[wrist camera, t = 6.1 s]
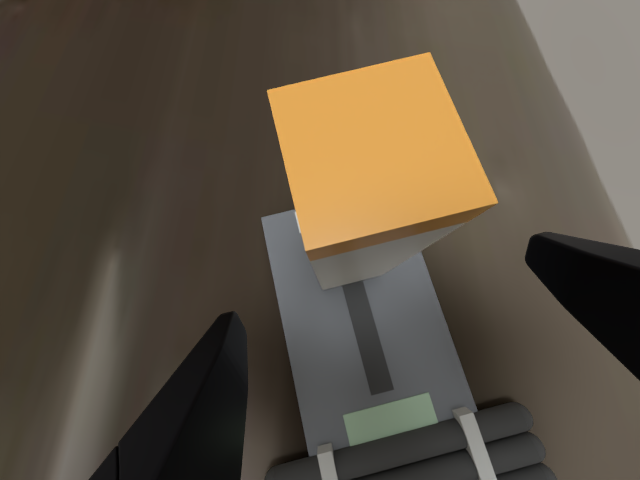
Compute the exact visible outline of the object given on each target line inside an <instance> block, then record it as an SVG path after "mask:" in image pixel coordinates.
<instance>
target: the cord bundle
mask: <svg viewBox="0 0 640 480" xmlns="http://www.w3.org/2000/svg"><path fill="white" fill-rule="evenodd" d="M452 412H453V415H454V418H452V419H449V420H445V421H441V422H438V423H436V424H432V425H428V426H425V427H421V428H417V429H414V430H410V431H406V432H402V433H399V434H395V435H391V436H388V437H384V438H380V439H377V440H373V441H369V442H365V443H362V444H358V445H354V446H351V447H350V446H349V447H345V448H341V449H338V450H334V451H333V448H332V443H328V444H324V445H320V446H318V449H317V455H315V456H312V457H306V458H302V459H298V460H295V461H291V462H287V463H284V464H280V465H276V466H273V467H272V468H271V469H270V470H269V471H268V472H267V474H266V476H265V480H557V478H556V476H555V474H554V473H553V472H552V470H551V469H550V468H549V467H547V466H546V465H544V464H543V463H540V462H542V461H543V460H544V458H545V454H546V453H545V448H544V445H543V444H542V442H541V441H540V439H539V438H538V437H536V436H535V435H534V434H532V433H530V432H527V431H528V430H530V429H531V428H532V426H533V418H532V415H531V413H530V412H529V411H528V409H527V408H526V407H524V406H523V405H521V404H519V403H516V402H509V403H506V404H502V405H498V406H494V407H491V408H487V409H483V410H480V411H478V412H474V413H473V412H472V411H471V410H469V409H468V408H467V407H461V408H458V409H454V410H452Z"/></svg>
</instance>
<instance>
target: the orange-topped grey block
mask: <svg viewBox="0 0 640 480" xmlns="http://www.w3.org/2000/svg"><path fill="white" fill-rule="evenodd" d="M267 92H268V97H269V101H270V105H271V109H272V113H273V118H274V122H275V126H276V130H277V134H278V138H279V143H280V147H281V151H282V155H283V159H284V164H285V168H286V172H287V176H288V180H289V185H290V189H291V193H292V197H293V201H294V205H295V210H296V214H297V218H298V222H299V226H300V231H301V235H302V239H303V243H304V247H305V251H306V254H307V256H308V258H309V260H310V263H311V265H312V267H313V270H314V272H315V274H316V276H317V279H318V281H319V283H320V285H321V288H322V290H326V289H330V288H334V287H337V286H341V285H345V284H349V283H353V282H357V281H361V280H365V279H369V278H373V277H377V276H381V275H383V274H385V273H386V272H388V271H390V270H391V269H393V268H394V267H396V266H398V265H399V264H401V263H402V262H404V261H406V260H407V259H409V258H410V257H412V256H414V255H415V254H417V253H418V252H420V251H422V250H423V249H425V248H427V247H428V246H430V245H431V244H433V243H435V242H436V241H438V240H439V239H441V238H443V237H444V236H446V235H447V234H449V233H451V232H452V231H454V230H455V229H457V228H459V227H460V226H462V225H463V224H465V223H467V222H468V221H470V220H472V219H473V218H475V217H476V216H478V215H480V214H481V213H483V212H484V211H486V210H488V209H489V208H491V207H492V206H494V205H496V204H497V203H498V201H497V199H496V196H495V194H494V192H493V190H492V188H491V185H490V183H489V181H488V179H487V177H486V174H485V172H484V170H483V168H482V166H481V163H480V161H479V159H478V157H477V155H476V152H475V150H474V148H473V146H472V144H471V142H470V139H469V137H468V135H467V133H466V131H465V128H464V126H463V124H462V122H461V120H460V117H459V115H458V113H457V111H456V109H455V106H454V104H453V102H452V100H451V98H450V95H449V93H448V91H447V89H446V87H445V84H444V82H443V80H442V78H441V76H440V74H439V71H438V69H437V67H436V65H435V63H434V60H433V58H432V56H431V54H430V52H428V53H424V54H420V55H415V56H411V57H407V58H403V59H398V60H394V61H390V62H386V63H381V64H377V65H373V66H368V67H364V68H360V69H356V70H351V71H347V72H343V73H338V74H334V75H330V76H326V77H321V78H317V79H313V80H308V81H304V82H300V83H296V84H291V85H287V86H283V87H279V88H274V89H270V90H267Z"/></svg>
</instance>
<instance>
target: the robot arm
mask: <svg viewBox="0 0 640 480" xmlns="http://www.w3.org/2000/svg"><path fill="white" fill-rule="evenodd" d="M525 261H526V264H527V265H528V267H529V268H530V269H531V270H532V271H533V272H534V273H535V275H536V276H537V277H538V278H539V279H540V280H541V282H542V283H543V284H544V285H545V286H546V287H547V289H548V290H549V291H550V292H551V293H552V294H553V295H554V297H555V298H556V299H557V300H558V301H559V302H560V303H561V305H562V306H563V307H564V308H565V309H566V310H567V311H568V312H569V313H570V314H571V315H572V316H573V317H574V318H575V319H576V320H577V321H579V322H580V323H581V324H582V325H583V326H584V327H585V328H586V329H587V330H588V331H589V332H590V333H591V334H592V335H593V336H594V337H595V338H596V339H597V340H598V341H599V342H600V343H601V344H602V345H603V346H604V347H605V348H606V349H607V350H608V351H610V352H611V353H612V354H613V355H614V356H615V357H616V358H617V359H618V360H619V361H620V362H621V363H622V364H623V365H624V366H625V367H626V368H627V369H628V370H629V371H630V372H631V373H632V374H633V375H634V376H635V377H636V378H637V379H638V380H639V381H640V250H638V249H633V248H628V247H623V246H618V245H613V244H608V243H603V242H598V241H593V240H587V239H582V238H577V237H572V236H567V235H562V234H557V233H552V232H543V233H539V234H535V235H533V236H532V237H531V238H530V240H529V243H528V247H527V251H526V255H525ZM247 396H248V363H247V334H246V330H245V328H244V326H243V324H242V322H241V320H240V318H239V316H238V314H237V313H236V312H235V311H231V312H227V313H223V314H221V315H220V316H219V317H218V318H217V319H216V320H215V322H214V323H213V324H212V325H211V327H210V328H209V329H208V330H207V332H206V333H205V334H204V336H203V337H202V338H201V339H200V341H199V342H198V343H197V344H196V346H195V347H194V348H193V349H192V351H191V352H190V353H189V354H188V356H187V357H186V358H185V359H184V361H183V362H182V363H181V364H180V366H179V367H178V368H177V370H176V371H175V372H174V373H173V375H172V376H171V377H170V378H169V380H168V381H167V382H166V383H165V385H164V386H163V387H162V388H161V390H160V391H159V392H158V393H157V395H156V396H155V397H154V399H153V400H152V401H151V402H150V404H149V405H148V406H147V407H146V409H145V410H144V411H143V412H142V414H141V415H140V416H139V417H138V419H137V420H136V421H135V422H134V424H133V425H132V426H131V427H130V429H129V430H128V431H127V433H126V434H125V435H124V436H123V438H122V439H121V440H120V441H119V443H118V446H116V447H115V448H114V449H113V450H112V451H111V452H110V454H109V455H108V456H107V458H106V459H105V460H104V461H103V463H102V464H101V465H100V466H99V468H98V469H97V470H96V471H95V472H94V474H93V475H92V476H91V477H90V479H89V480H241V468H242V456H243V444H244V432H245V421H246V409H247Z"/></svg>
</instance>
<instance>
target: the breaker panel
mask: <svg viewBox="0 0 640 480" xmlns="http://www.w3.org/2000/svg"><path fill="white" fill-rule="evenodd" d="M261 219H262V224H263V229H264V234H265V239H266V244H267V249H268V254H269V259H270V264H271V269H272V274H273V279H274V284H275V289H276V294H277V299H278V304H279V309H280V314H281V319H282V324H283V329H284V334H285V339H286V344H287V349H288V354H289V359H290V364H291V369H292V374H293V379H294V384H295V389H296V394H297V399H298V404H299V409H300V414H301V419H302V424H303V429H304V434H305V439H306V444H307V449H308V454H309V457H312V456H315V455H317V449H318V446H320V445H324V444H328V443H332V448H333V451H334V450H338V449H341V448H345V447H349V446H350V447H351V446H354V445H358V444H362V443H365V442H369V441H373V440H377V439H380V438H384V437H388V436H391V435H395V434H399V433H402V432H406V431H410V430H414V429H417V428H421V427H425V426H428V425H432V424H436V423H438V422H441V421H445V420H449V419H452V418H454V415H453V412H452V410H454V409H458V408H461V407H467V408H468V409H469V410H471V411H472V412H473V413H474V412H478V411H477V408H476V405H475V402H474V399H473V397H472V394H471V391H470V388H469V385H468V382H467V380H466V377H465V374H464V371H463V368H462V366H461V363H460V360H459V357H458V354H457V352H456V349H455V346H454V343H453V340H452V337H451V335H450V332H449V329H448V326H447V323H446V321H445V318H444V315H443V312H442V309H441V306H440V304H439V301H438V298H437V295H436V292H435V290H434V287H433V284H432V281H431V278H430V276H429V273H428V270H427V267H426V264H425V261H424V259H423V256H422V253H421V251H420V252H418V253H417V254H415V255H414V256H412V257H410V258H409V259H407V260H406V261H404V262H402V263H401V264H399V265H398V266H396V267H394V268H393V269H391V270H390V271H388V272H386V273H385V274H383V275H381V276H377V277H373V278H369V279H365V280H361V281H357V282H353V283H349V284H345V285H341V286H337V287H334V288H330V289H326V290H322V288H321V285H320V283H319V281H318V279H317V276H316V274H315V272H314V270H313V267H312V265H311V263H310V260H309V258H308V256H307V254H306V251H305V247H304V243H303V239H302V235H301V231H300V226H299V222H298V218H297V214H296V210H290V211H286V212H282V213H278V214H274V215H270V216H266V217H262V218H261Z"/></svg>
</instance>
